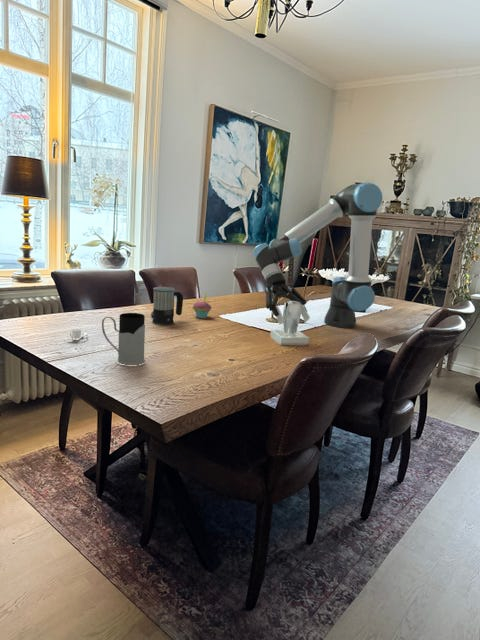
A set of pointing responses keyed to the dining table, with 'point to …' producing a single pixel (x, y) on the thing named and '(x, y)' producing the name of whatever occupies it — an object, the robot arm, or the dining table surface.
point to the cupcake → (202, 308)
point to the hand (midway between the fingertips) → (295, 321)
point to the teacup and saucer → (77, 333)
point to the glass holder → (130, 338)
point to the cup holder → (289, 338)
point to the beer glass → (291, 318)
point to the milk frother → (166, 305)
